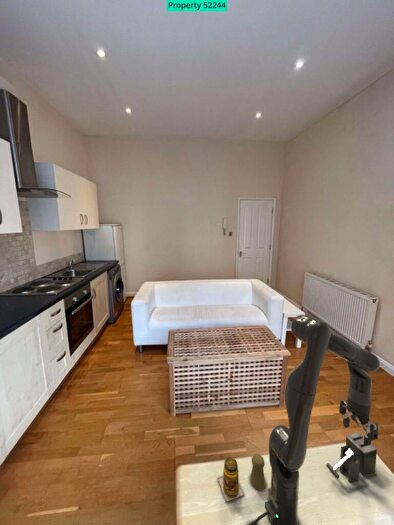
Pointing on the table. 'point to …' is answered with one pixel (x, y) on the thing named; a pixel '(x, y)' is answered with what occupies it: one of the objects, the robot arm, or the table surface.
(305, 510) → the table surface
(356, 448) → the toaster body
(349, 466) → the switch bracket
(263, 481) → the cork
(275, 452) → the robot arm
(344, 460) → the switch lever
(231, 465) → the condiment
